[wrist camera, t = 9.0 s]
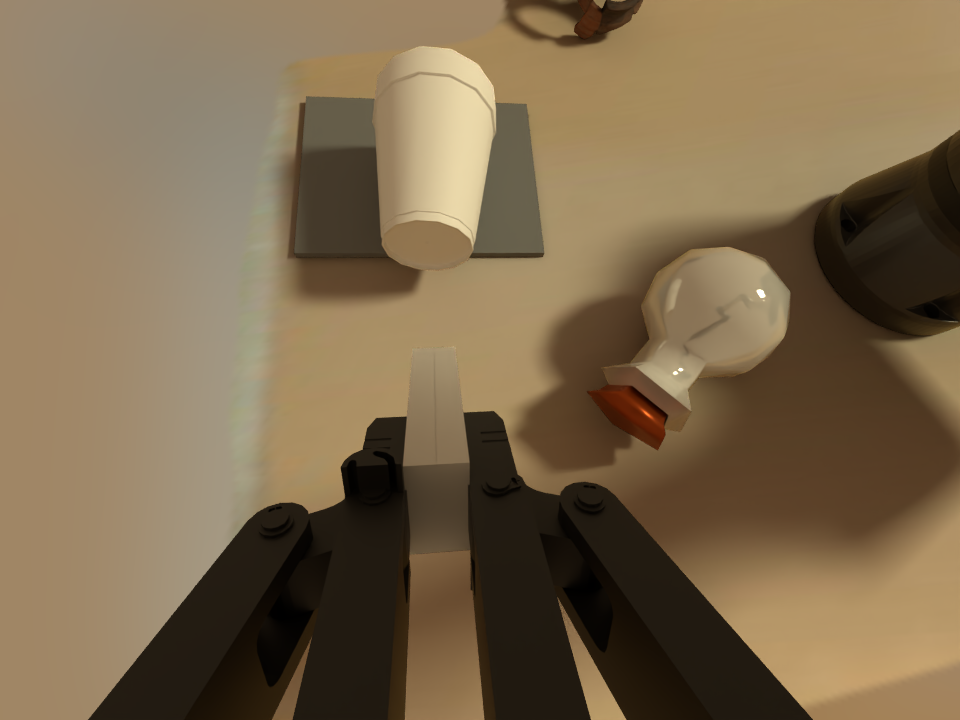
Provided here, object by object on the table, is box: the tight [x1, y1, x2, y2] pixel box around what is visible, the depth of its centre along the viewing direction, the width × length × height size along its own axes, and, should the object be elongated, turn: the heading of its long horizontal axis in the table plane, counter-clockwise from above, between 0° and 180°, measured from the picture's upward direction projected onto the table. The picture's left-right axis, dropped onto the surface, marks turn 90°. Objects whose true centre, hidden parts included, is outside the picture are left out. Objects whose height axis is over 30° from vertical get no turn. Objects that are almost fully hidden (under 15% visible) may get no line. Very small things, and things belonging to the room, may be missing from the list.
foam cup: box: [372, 46, 496, 271], centre depth 34 cm, size 10×9×13 cm
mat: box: [294, 96, 544, 257], centre depth 40 cm, size 16×20×1 cm
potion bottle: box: [587, 247, 791, 450], centre depth 33 cm, size 9×10×15 cm
